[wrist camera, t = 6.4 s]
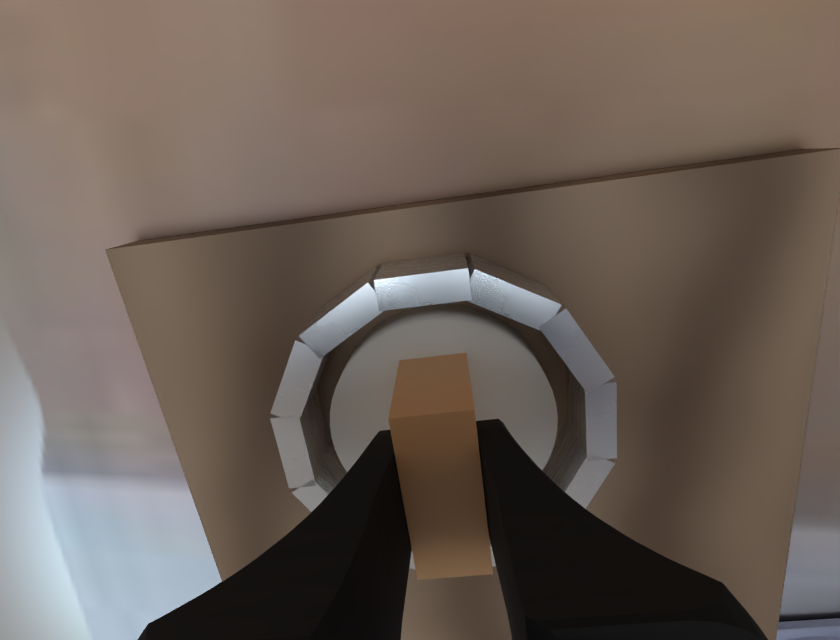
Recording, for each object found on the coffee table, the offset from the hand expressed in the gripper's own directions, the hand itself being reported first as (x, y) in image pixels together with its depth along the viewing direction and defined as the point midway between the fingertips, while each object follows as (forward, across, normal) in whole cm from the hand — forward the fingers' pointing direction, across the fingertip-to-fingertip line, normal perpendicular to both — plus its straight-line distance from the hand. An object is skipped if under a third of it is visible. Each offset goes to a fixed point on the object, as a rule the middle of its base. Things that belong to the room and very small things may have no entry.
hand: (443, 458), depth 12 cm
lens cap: (+3, 0, 0) cm, 3 cm away
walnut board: (+4, -1, +4) cm, 6 cm away
